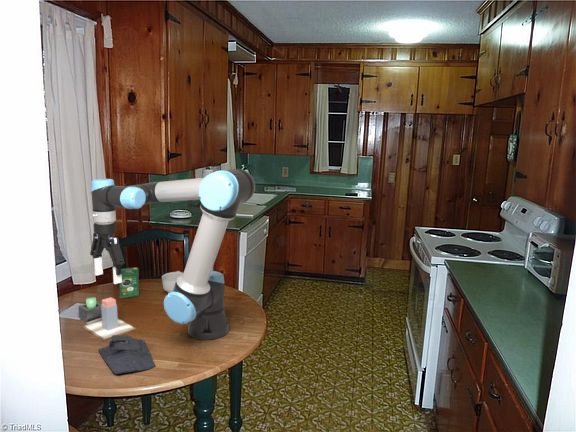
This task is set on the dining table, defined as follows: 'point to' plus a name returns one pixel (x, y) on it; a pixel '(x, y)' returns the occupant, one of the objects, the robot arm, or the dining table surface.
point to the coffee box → (129, 283)
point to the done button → (91, 302)
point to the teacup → (170, 280)
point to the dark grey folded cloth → (127, 354)
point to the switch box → (90, 312)
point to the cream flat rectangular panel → (102, 333)
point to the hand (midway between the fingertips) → (108, 278)
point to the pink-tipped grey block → (109, 314)
